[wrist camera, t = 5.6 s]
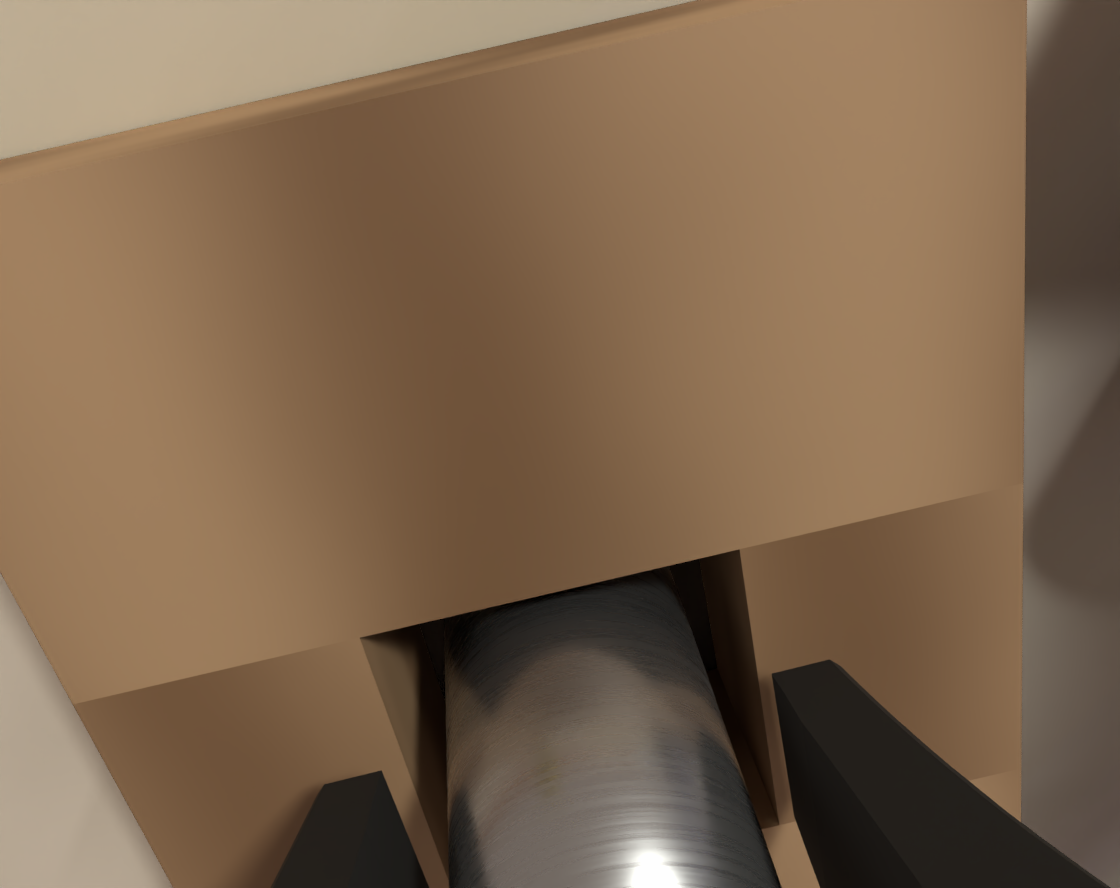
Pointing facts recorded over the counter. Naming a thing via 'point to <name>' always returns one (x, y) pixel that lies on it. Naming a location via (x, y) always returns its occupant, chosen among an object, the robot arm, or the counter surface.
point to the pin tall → (592, 747)
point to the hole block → (525, 398)
